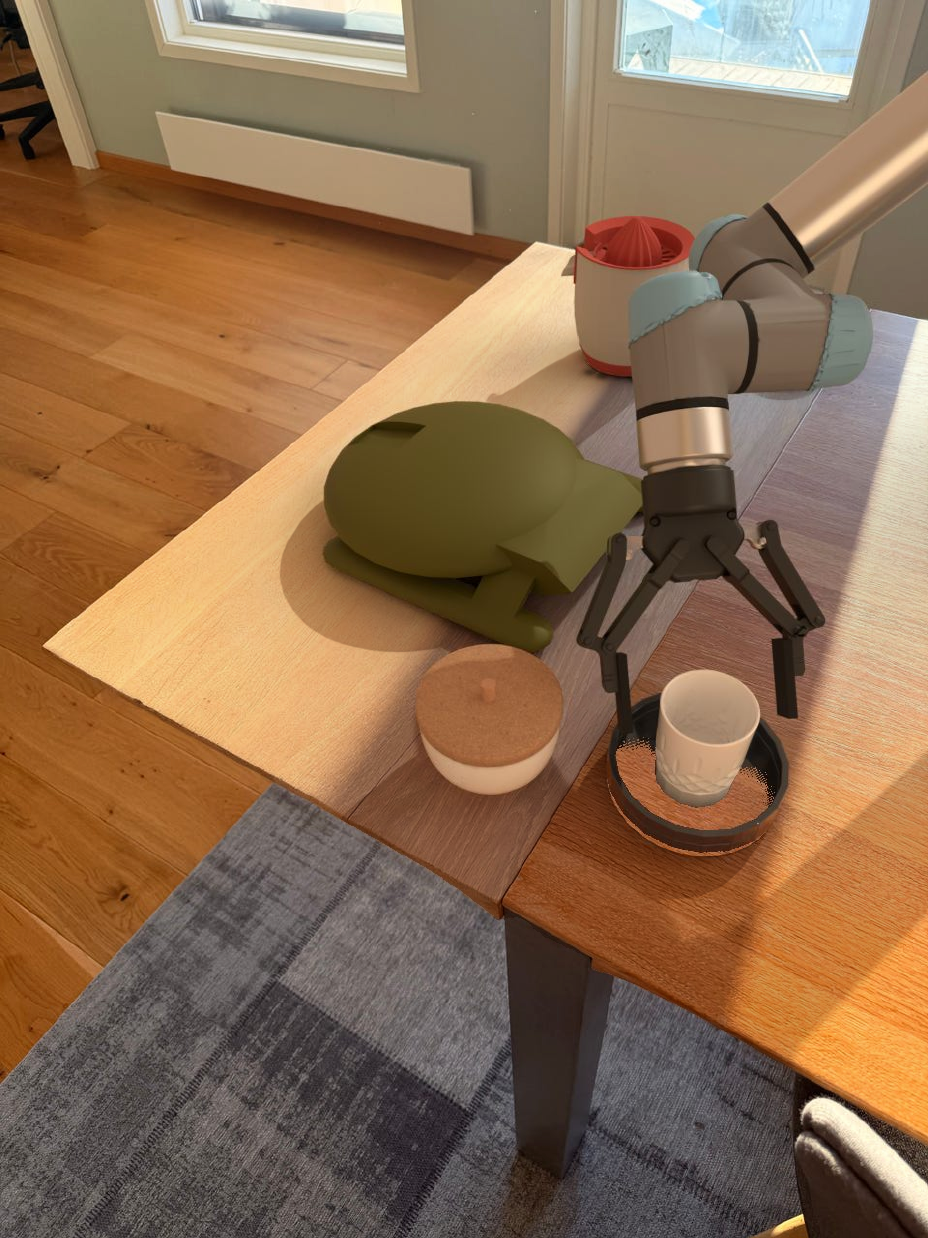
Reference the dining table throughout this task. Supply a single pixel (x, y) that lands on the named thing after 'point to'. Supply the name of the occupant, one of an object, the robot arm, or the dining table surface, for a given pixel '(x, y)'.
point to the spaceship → (473, 514)
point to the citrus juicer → (619, 281)
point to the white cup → (703, 735)
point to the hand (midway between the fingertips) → (706, 724)
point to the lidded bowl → (489, 717)
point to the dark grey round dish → (760, 754)
